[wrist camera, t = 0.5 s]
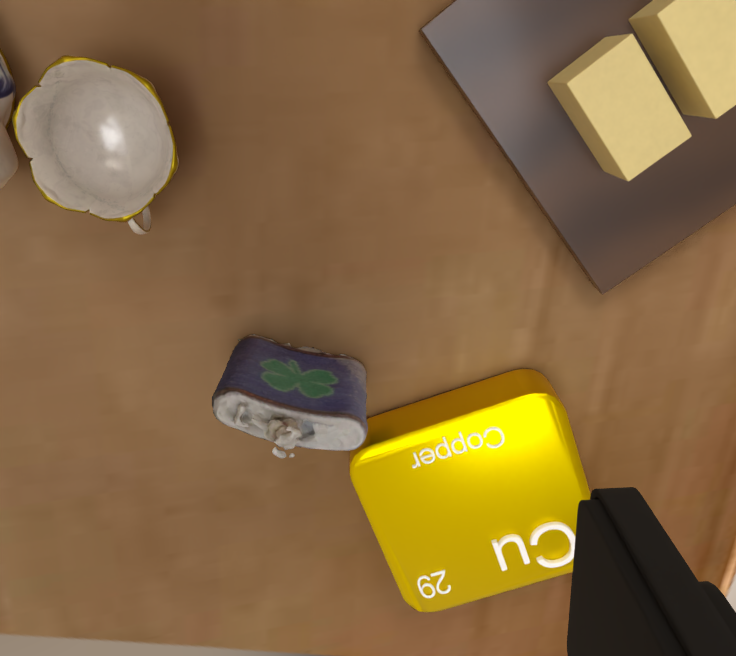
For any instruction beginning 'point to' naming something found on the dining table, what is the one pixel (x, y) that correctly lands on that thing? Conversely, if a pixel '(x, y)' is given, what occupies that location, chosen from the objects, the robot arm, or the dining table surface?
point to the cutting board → (563, 141)
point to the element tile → (473, 490)
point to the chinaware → (90, 138)
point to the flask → (293, 396)
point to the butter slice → (620, 107)
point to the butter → (692, 51)
